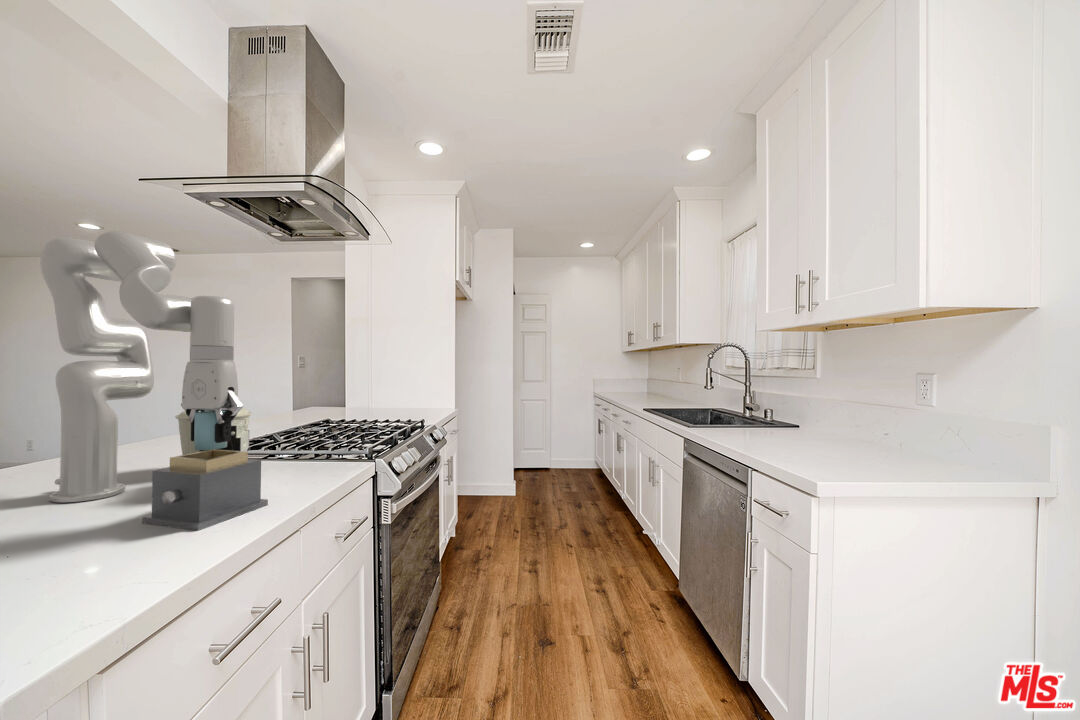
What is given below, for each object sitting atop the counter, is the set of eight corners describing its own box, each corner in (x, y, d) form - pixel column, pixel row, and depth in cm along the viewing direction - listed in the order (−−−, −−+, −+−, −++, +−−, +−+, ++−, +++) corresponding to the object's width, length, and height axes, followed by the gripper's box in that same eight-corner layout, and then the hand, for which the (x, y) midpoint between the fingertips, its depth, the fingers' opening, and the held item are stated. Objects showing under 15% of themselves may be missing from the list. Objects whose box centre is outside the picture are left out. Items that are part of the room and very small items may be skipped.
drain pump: (187, 449, 93) (187, 407, 93) (218, 443, 100) (219, 404, 100) (208, 450, 92) (209, 408, 92) (239, 444, 98) (239, 404, 98)
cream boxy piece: (239, 492, 110) (240, 419, 110) (196, 496, 106) (198, 421, 106) (251, 475, 126) (252, 412, 126) (214, 478, 123) (215, 413, 123)
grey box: (138, 524, 88) (140, 460, 88) (218, 499, 104) (219, 445, 104) (194, 531, 85) (196, 465, 85) (267, 504, 101) (268, 449, 101)
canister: (156, 476, 123) (158, 399, 123) (213, 462, 141) (214, 395, 141) (215, 480, 121) (216, 401, 121) (265, 465, 139) (266, 396, 139)
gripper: (162, 354, 94) (160, 442, 93) (228, 355, 89) (227, 446, 89) (197, 355, 101) (196, 436, 101) (260, 355, 97) (259, 440, 97)
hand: (211, 440), depth 95 cm, fingers closed on drain pump, 5 cm apart
